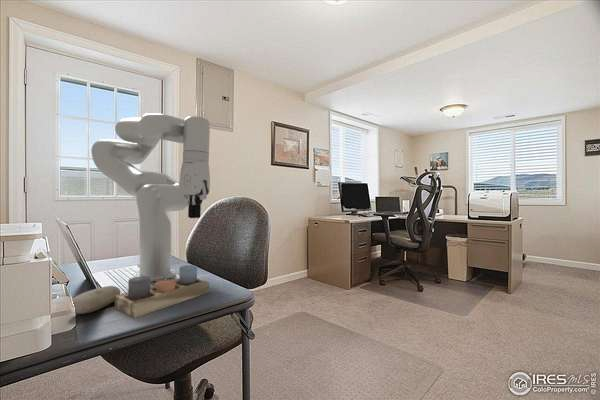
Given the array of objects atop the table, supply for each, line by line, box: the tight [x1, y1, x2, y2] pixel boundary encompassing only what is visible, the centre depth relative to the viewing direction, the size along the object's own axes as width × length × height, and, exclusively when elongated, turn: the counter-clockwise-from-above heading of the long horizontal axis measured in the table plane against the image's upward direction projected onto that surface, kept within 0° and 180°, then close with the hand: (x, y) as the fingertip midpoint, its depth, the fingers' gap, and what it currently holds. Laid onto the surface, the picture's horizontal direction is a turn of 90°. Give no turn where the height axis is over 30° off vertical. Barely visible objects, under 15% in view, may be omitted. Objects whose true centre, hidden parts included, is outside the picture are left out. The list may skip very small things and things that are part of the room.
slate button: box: [178, 264, 198, 284], centre depth 83 cm, size 5×5×4 cm
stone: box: [71, 285, 121, 315], centre depth 71 cm, size 6×6×12 cm
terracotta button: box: [155, 279, 175, 293], centre depth 77 cm, size 5×5×4 cm
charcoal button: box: [127, 276, 151, 298], centre depth 72 cm, size 5×5×4 cm
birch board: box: [114, 278, 210, 319], centre depth 78 cm, size 10×21×3 cm, turn 147°
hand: (194, 217), depth 88 cm, fingers closed
